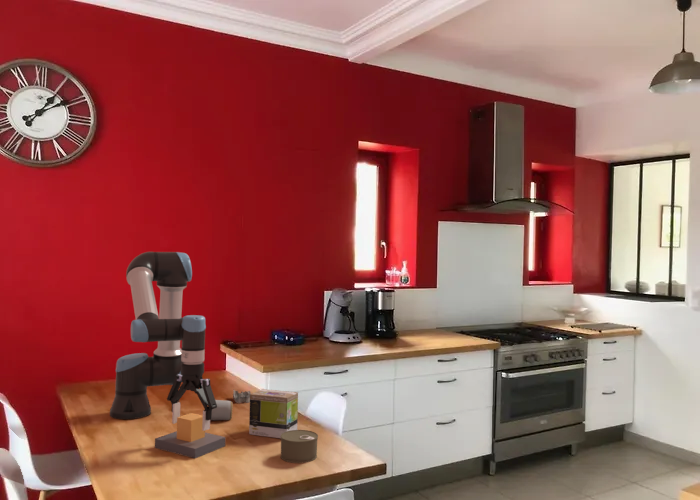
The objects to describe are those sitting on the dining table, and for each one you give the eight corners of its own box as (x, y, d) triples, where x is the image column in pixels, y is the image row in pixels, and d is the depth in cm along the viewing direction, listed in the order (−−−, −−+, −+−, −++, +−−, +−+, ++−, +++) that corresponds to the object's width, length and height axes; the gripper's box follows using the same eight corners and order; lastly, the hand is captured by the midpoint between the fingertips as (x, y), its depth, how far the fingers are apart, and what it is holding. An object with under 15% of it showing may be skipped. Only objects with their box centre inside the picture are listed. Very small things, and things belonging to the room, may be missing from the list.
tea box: (298, 432, 210) (299, 391, 210) (286, 440, 200) (287, 397, 200) (261, 427, 214) (262, 387, 215) (248, 434, 205) (249, 393, 205)
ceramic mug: (232, 421, 220) (232, 401, 220) (210, 422, 218) (211, 402, 218) (231, 414, 230) (232, 395, 230) (210, 415, 228) (211, 396, 229)
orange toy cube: (176, 438, 189) (177, 417, 189) (190, 433, 195) (191, 413, 195) (190, 442, 186) (191, 420, 186) (204, 436, 192) (205, 415, 192)
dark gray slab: (154, 447, 189) (154, 438, 189) (186, 436, 201) (186, 428, 201) (195, 458, 180) (195, 448, 180) (225, 446, 192) (225, 437, 192)
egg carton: (232, 398, 257) (232, 389, 257) (249, 397, 259) (249, 388, 259) (234, 404, 247) (234, 394, 247) (251, 403, 249) (252, 393, 249)
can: (294, 448, 192) (295, 427, 193) (324, 455, 186) (325, 434, 186) (272, 458, 182) (273, 436, 182) (303, 466, 176) (304, 443, 176)
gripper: (157, 359, 194) (155, 422, 194) (213, 368, 181) (211, 435, 181) (174, 356, 200) (172, 417, 200) (229, 365, 188) (227, 429, 188)
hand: (190, 426), depth 191 cm, fingers open, 13 cm apart
